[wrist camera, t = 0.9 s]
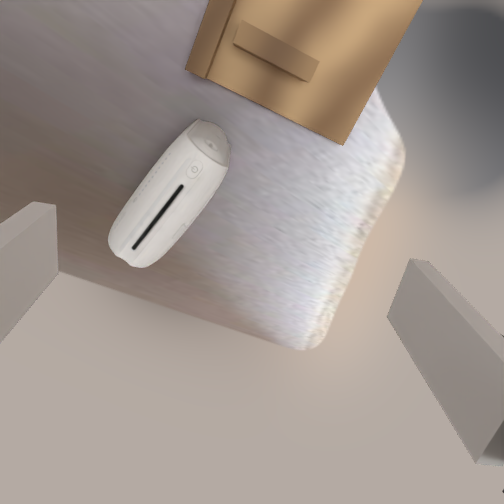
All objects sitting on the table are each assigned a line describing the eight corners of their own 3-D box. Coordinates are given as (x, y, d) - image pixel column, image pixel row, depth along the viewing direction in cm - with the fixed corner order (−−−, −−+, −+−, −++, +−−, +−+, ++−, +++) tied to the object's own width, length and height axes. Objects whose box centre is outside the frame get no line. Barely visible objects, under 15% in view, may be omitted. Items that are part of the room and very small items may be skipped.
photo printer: (199, 108, 33) (178, 126, 22) (239, 141, 35) (237, 175, 23) (133, 198, 36) (85, 254, 25) (171, 225, 38) (141, 291, 26)
